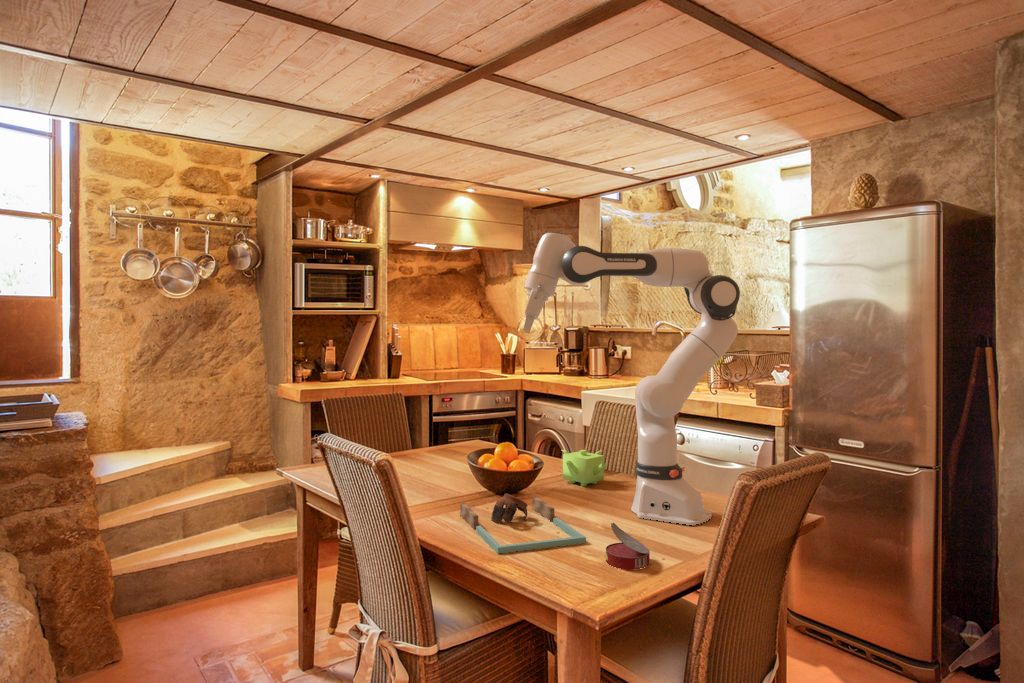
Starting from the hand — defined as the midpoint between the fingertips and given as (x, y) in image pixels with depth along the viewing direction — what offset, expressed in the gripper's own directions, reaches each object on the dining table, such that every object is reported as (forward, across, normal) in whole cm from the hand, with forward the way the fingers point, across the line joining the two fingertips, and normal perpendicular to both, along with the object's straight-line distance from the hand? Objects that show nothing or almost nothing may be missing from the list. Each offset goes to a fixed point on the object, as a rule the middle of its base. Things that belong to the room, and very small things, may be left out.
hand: (525, 332), depth 189 cm
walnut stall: (+51, -6, -11) cm, 52 cm away
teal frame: (+50, -22, -17) cm, 57 cm away
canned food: (+44, -37, -39) cm, 70 cm away
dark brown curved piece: (+51, -8, -11) cm, 53 cm away
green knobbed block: (+42, +37, -33) cm, 65 cm away
